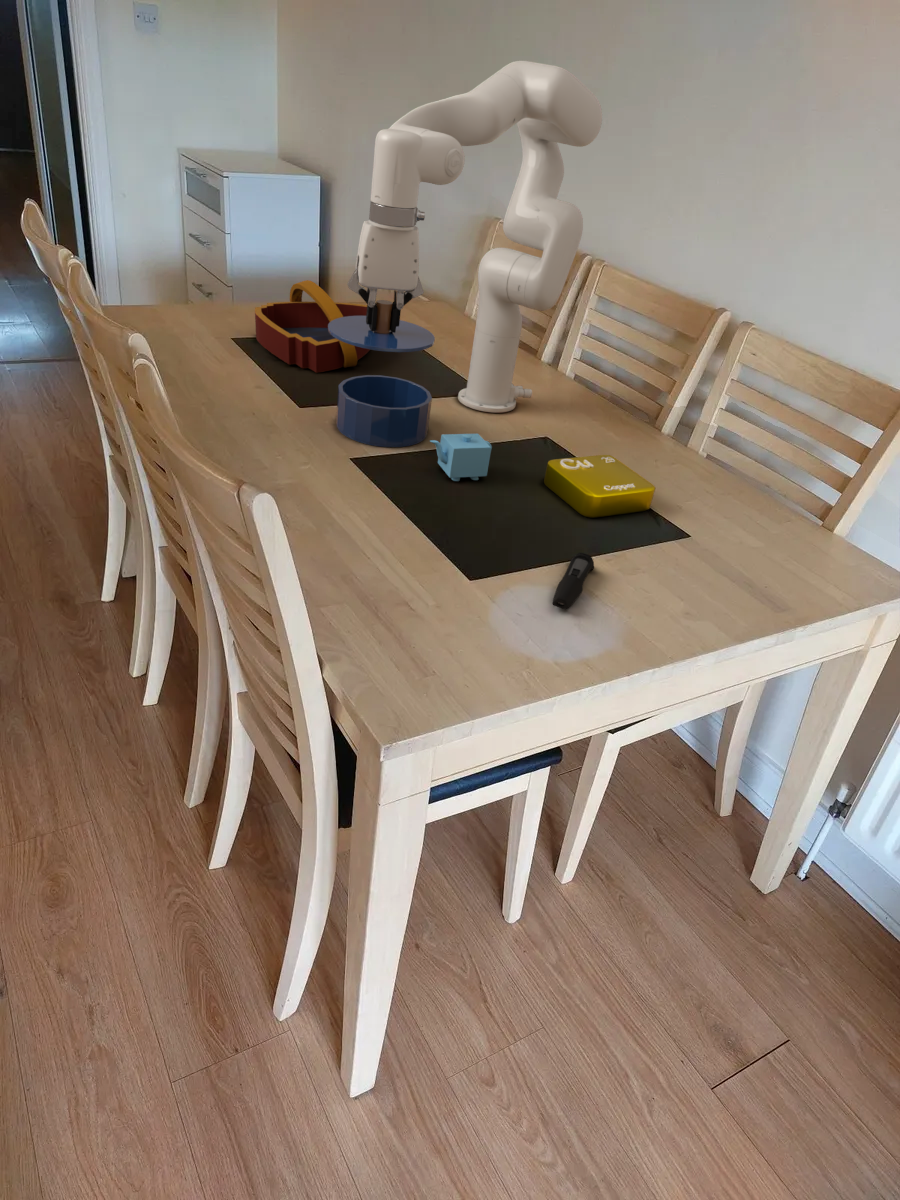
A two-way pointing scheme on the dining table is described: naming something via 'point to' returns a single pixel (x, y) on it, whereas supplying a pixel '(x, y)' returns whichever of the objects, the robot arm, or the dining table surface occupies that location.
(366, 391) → the pot
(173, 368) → the dining table surface
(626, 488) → the element tile
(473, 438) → the teapot
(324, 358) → the decorative basket
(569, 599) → the electric trimmer
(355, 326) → the lid
